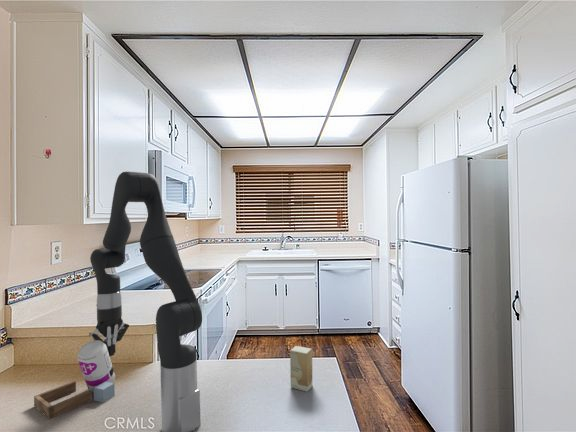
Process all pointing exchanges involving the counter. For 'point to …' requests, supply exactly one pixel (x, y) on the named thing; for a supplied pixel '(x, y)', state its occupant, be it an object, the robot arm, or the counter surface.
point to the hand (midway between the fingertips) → (110, 355)
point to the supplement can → (95, 364)
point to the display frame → (65, 405)
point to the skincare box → (301, 368)
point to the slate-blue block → (104, 391)
